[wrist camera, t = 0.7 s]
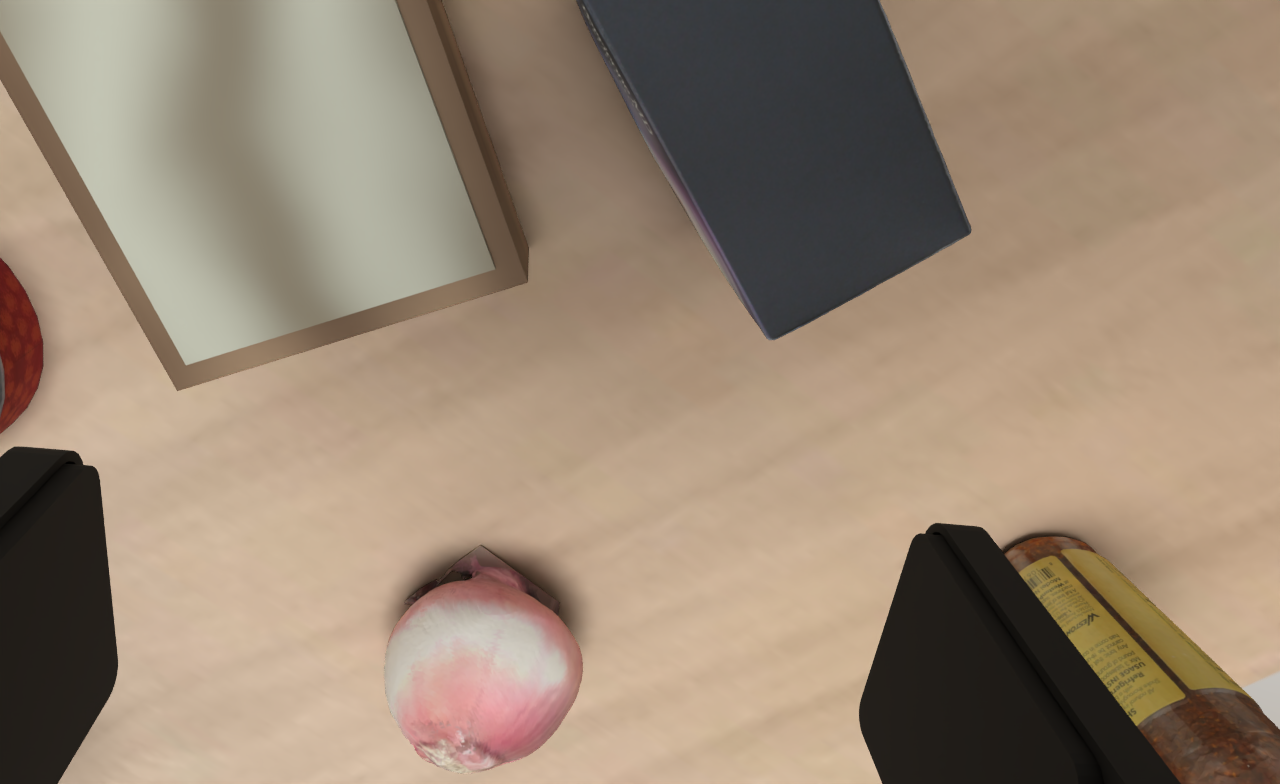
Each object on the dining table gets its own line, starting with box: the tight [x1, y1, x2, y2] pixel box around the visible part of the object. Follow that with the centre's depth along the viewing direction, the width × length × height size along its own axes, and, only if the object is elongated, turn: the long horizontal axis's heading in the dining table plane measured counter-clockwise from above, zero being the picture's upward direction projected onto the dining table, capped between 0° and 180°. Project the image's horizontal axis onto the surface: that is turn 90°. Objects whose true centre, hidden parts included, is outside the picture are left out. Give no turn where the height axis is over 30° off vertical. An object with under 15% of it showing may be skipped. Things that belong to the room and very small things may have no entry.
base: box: [0, 0, 529, 391], centre depth 28 cm, size 12×16×4 cm
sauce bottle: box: [1004, 536, 1280, 784], centre depth 33 cm, size 7×6×20 cm
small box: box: [576, 0, 971, 340], centre depth 27 cm, size 11×6×10 cm, turn 30°
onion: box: [384, 545, 583, 774], centre depth 37 cm, size 8×8×7 cm
